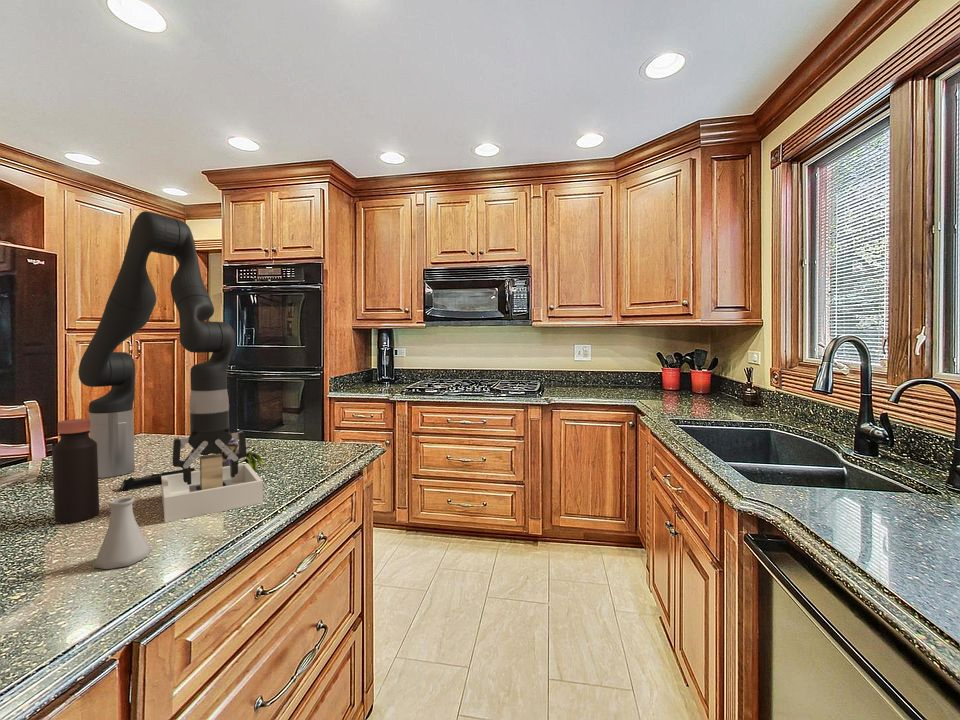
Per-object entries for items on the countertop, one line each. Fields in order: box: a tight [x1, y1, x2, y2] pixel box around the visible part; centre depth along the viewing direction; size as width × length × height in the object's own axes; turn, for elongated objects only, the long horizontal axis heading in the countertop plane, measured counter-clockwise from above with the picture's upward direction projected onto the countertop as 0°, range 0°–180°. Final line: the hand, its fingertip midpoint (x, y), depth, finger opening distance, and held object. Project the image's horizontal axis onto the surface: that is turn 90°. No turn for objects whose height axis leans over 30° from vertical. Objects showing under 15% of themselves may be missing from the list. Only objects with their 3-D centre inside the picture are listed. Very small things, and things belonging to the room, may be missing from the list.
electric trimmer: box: [119, 467, 196, 493], centre depth 112 cm, size 4×16×3 cm, turn 135°
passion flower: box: [219, 438, 268, 473], centre depth 124 cm, size 11×11×12 cm
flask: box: [92, 496, 152, 570], centre depth 73 cm, size 7×7×10 cm
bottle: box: [51, 418, 100, 524], centre depth 90 cm, size 7×7×20 cm
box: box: [161, 462, 264, 523], centre depth 100 cm, size 18×18×5 cm
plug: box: [199, 454, 223, 490], centre depth 100 cm, size 4×4×9 cm
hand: (211, 480), depth 100 cm, fingers open, 8 cm apart
